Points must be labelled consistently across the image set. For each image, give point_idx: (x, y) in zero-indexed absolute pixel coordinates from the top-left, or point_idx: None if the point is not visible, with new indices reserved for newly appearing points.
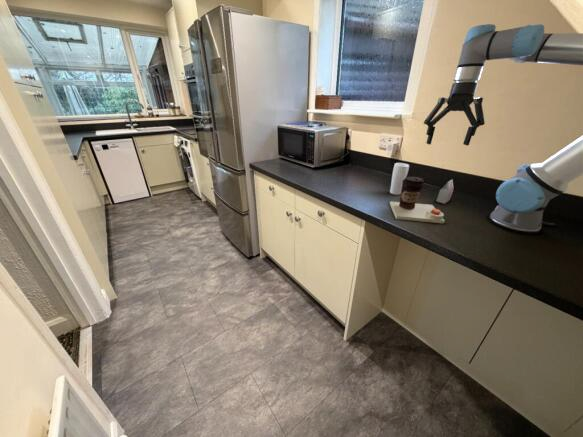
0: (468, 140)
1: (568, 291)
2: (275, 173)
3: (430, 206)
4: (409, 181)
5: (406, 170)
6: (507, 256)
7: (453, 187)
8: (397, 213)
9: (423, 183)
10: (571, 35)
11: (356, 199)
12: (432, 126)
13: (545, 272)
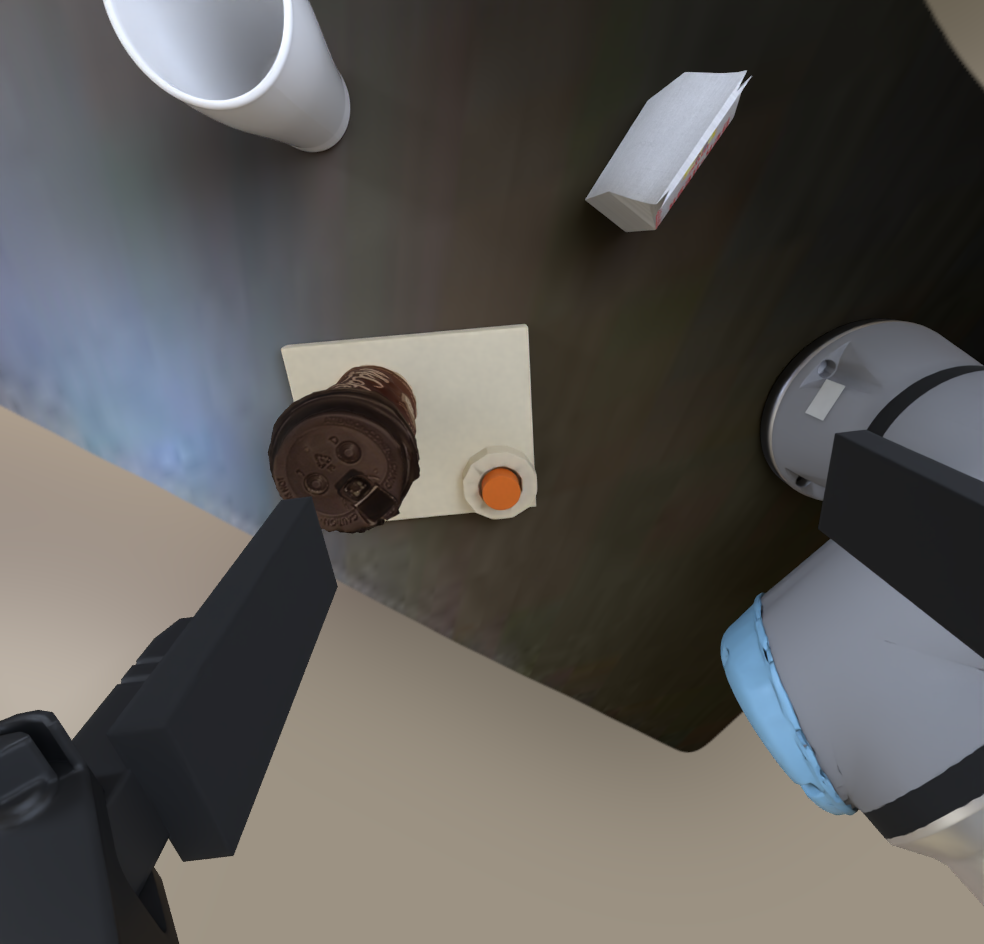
0: (874, 566)
1: (706, 732)
2: None
3: (510, 357)
4: None
5: (286, 102)
6: (656, 648)
7: (732, 114)
8: None
9: (409, 486)
10: None
11: (70, 332)
12: (159, 841)
13: (709, 685)
